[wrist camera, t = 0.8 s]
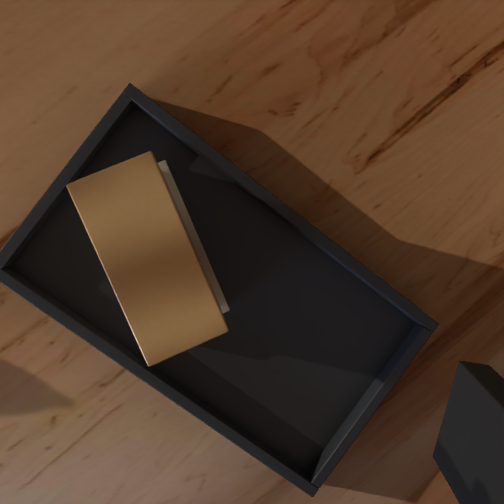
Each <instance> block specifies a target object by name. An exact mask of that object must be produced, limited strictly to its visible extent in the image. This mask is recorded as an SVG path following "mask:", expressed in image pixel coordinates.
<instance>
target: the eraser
mask: <svg viewBox="0 0 504 504" xmlns="http://www.w3.org/2000/svg"><path fill="white" fill-rule="evenodd" d="M67 189H68V191H69V193H70V195H71V198H72V200H73V202H74V204H75V206H76V209H77V211H78V213H79V215H80V217H81V220H82V222H83V224H84V226H85V228H86V231H87V233H88V235H89V237H90V239H91V242H92V244H93V246H94V248H95V251H96V253H97V255H98V257H99V259H100V262H101V264H102V266H103V268H104V270H105V273H106V275H107V277H108V279H109V281H110V284H111V286H112V288H113V290H114V292H115V295H116V297H117V299H118V301H119V303H120V306H121V308H122V310H123V312H124V315H125V317H126V319H127V321H128V323H129V326H130V328H131V330H132V332H133V334H134V337H135V339H136V341H137V343H138V345H139V348H140V350H141V352H142V354H143V356H144V359H145V361H146V363H147V365H148V366H152V365H154V364H157V363H159V362H161V361H163V360H166V359H168V358H170V357H172V356H175V355H177V354H179V353H181V352H184V351H186V350H188V349H190V348H193V347H195V346H197V345H199V344H202V343H204V342H206V341H208V340H211V339H213V338H215V337H217V336H219V335H222V334H224V333H226V332H228V331H229V329H228V326H227V323H226V321H225V318H224V315H223V313H225V312H227V311H229V310H230V309H229V307H228V304H227V302H226V300H225V297H224V295H223V293H222V290H221V288H220V286H219V283H218V281H217V279H216V277H215V274H214V272H213V270H212V267H211V265H210V263H209V260H208V258H207V256H206V253H205V251H204V249H203V246H202V244H201V242H200V239H199V237H198V235H197V232H196V230H195V228H194V225H193V223H192V221H191V218H190V216H189V214H188V211H187V209H186V207H185V204H184V202H183V200H182V198H181V195H180V193H179V191H178V188H177V186H176V184H175V181H174V179H173V177H172V174H171V172H170V170H169V167H168V165H167V163H166V161H165V160H164V161H161V162H159V163H157V161H156V159H155V157H154V155H153V153H152V152H151V151H149V152H146V153H144V154H141V155H139V156H136V157H134V158H131V159H129V160H126V161H124V162H121V163H119V164H116V165H114V166H111V167H109V168H106V169H104V170H101V171H99V172H96V173H94V174H91V175H89V176H86V177H84V178H81V179H79V180H76V181H74V182H71V183H69V184H67Z"/></svg>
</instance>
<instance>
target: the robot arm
mask: <svg viewBox="0 0 504 504" xmlns="http://www.w3.org/2000/svg"><path fill="white" fill-rule="evenodd" d="M433 458H434V460H435V461H436V463H437V465H438V467H439V468H440V470H441V472H442V474H443V475H444V477H445V479H446V481H447V482H448V484H449V486H450V487H451V489H452V491H453V493H454V494H455V496H456V498H457V500H458V501H459V503H460V504H504V379H503V378H502V377H501V376H500V375H499V374H498V373H497V372H496V371H495V370H494V369H493V368H492V367H491V366H489V365H485V364H478V363H472V362H465V361H459V364H458V368H457V371H456V375H455V378H454V382H453V386H452V389H451V393H450V396H449V400H448V403H447V407H446V411H445V414H444V418H443V421H442V425H441V428H440V432H439V436H438V439H437V443H436V446H435V450H434V453H433Z"/></svg>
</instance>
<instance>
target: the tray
mask: <svg viewBox="0 0 504 504" xmlns="http://www.w3.org/2000/svg"><path fill="white" fill-rule="evenodd" d="M149 151H151V152H152V153H153V155H154V157H155V159H156V161H157V163H159V162H161V161H164V160H165V161H166V163H167V165H168V167H169V170H170V172H171V174H172V177H173V179H174V181H175V184H176V186H177V188H178V191H179V193H180V195H181V198H182V200H183V202H184V204H185V207H186V209H187V211H188V214H189V216H190V218H191V221H192V223H193V225H194V228H195V230H196V232H197V235H198V237H199V239H200V242H201V244H202V246H203V249H204V251H205V253H206V256H207V258H208V260H209V263H210V265H211V267H212V270H213V272H214V274H215V277H216V279H217V281H218V283H219V286H220V288H221V290H222V293H223V295H224V297H225V300H226V302H227V304H228V307H229V309H230V310H229V311H227V312H225V313H223V315H224V318H225V321H226V323H227V326H228V329H229V331H228V332H226V333H224V334H222V335H219V336H217V337H215V338H213V339H211V340H208V341H206V342H204V343H202V344H199V345H197V346H195V347H193V348H190V349H188V350H186V351H184V352H181V353H179V354H177V355H175V356H172V357H170V358H168V359H166V360H163V361H161V362H159V363H157V364H154V365H152V366H148V365H147V363H146V361H145V359H144V356H143V354H142V352H141V350H140V348H139V345H138V343H137V341H136V339H135V337H134V334H133V332H132V330H131V328H130V326H129V323H128V321H127V319H126V317H125V315H124V312H123V310H122V308H121V306H120V303H119V301H118V299H117V297H116V295H115V292H114V290H113V288H112V286H111V284H110V281H109V279H108V277H107V275H106V273H105V270H104V268H103V266H102V264H101V262H100V259H99V257H98V255H97V253H96V251H95V248H94V246H93V244H92V242H91V239H90V237H89V235H88V233H87V231H86V228H85V226H84V224H83V222H82V220H81V217H80V215H79V213H78V211H77V209H76V206H75V204H74V202H73V200H72V198H71V195H70V193H69V191H68V189H67V184H69V183H71V182H74V181H76V180H79V179H81V178H84V177H86V176H89V175H91V174H94V173H96V172H99V171H101V170H104V169H106V168H109V167H111V166H114V165H116V164H119V163H121V162H124V161H126V160H129V159H131V158H134V157H136V156H139V155H141V154H144V153H146V152H149ZM0 283H2V284H3V285H5V286H6V287H7V288H9V289H10V290H12V291H13V292H15V293H16V294H18V295H19V296H21V297H22V298H23V299H25V300H26V301H28V302H29V303H31V304H32V305H34V306H35V307H37V308H38V309H39V310H41V311H42V312H44V313H45V314H47V315H48V316H50V317H51V318H53V319H54V320H55V321H57V322H58V323H60V324H61V325H63V326H64V327H66V328H67V329H69V330H70V331H71V332H73V333H74V334H76V335H77V336H79V337H80V338H82V339H83V340H85V341H86V342H87V343H89V344H90V345H92V346H93V347H95V348H96V349H98V350H99V351H100V352H102V353H103V354H105V355H106V356H108V357H109V358H111V359H112V360H114V361H115V362H116V363H118V364H119V365H121V366H122V367H124V368H125V369H127V370H128V371H130V372H131V373H132V374H134V375H135V376H137V377H138V378H140V379H141V380H143V381H144V382H146V383H147V384H148V385H150V386H151V387H153V388H154V389H156V390H157V391H159V392H160V393H162V394H163V395H164V396H166V397H167V398H169V399H170V400H172V401H173V402H175V403H176V404H178V405H179V406H180V407H182V408H183V409H185V410H186V411H188V412H189V413H191V414H192V415H194V416H195V417H196V418H198V419H199V420H201V421H202V422H204V423H205V424H207V425H208V426H210V427H211V428H212V429H214V430H215V431H217V432H218V433H220V434H221V435H223V436H224V437H226V438H227V439H228V440H230V441H231V442H233V443H234V444H236V445H237V446H239V447H240V448H242V449H243V450H244V451H246V452H247V453H249V454H250V455H252V456H253V457H255V458H256V459H258V460H259V461H260V462H262V463H263V464H265V465H266V466H268V467H269V468H271V469H272V470H274V471H275V472H276V473H278V474H279V475H281V476H282V477H284V478H285V479H287V480H288V481H290V482H291V483H292V484H294V485H295V486H297V487H298V488H300V489H301V490H303V491H304V492H306V493H307V494H308V495H310V496H311V497H314V495H315V494H316V492H317V491H318V490H319V488H320V487H321V485H322V484H323V483H324V481H325V480H326V479H327V477H328V476H329V474H330V473H331V472H332V470H333V469H334V468H335V466H336V465H337V463H338V462H339V461H340V459H341V458H342V457H343V455H344V454H345V452H346V451H347V450H348V448H349V447H350V446H351V444H352V443H353V441H354V440H355V439H356V437H357V436H358V435H359V433H360V432H361V430H362V429H363V428H364V426H365V425H366V424H367V422H368V421H369V419H370V418H371V417H372V415H373V414H374V413H375V411H376V410H377V408H378V407H379V406H380V404H381V403H382V401H383V400H384V399H385V397H386V396H387V395H388V393H389V392H390V390H391V389H392V388H393V386H394V385H395V384H396V382H397V381H398V379H399V378H400V377H401V375H402V374H403V373H404V371H405V370H406V368H407V367H408V366H409V364H410V363H411V362H412V360H413V359H414V357H415V356H416V355H417V353H418V352H419V351H420V349H421V348H422V346H423V345H424V344H425V342H426V341H427V340H428V338H429V337H430V335H431V334H432V332H434V330H435V329H436V328H437V326H438V325H439V324H438V323H437V322H436V321H434V320H433V319H432V318H431V317H429V316H428V315H427V314H426V313H424V312H423V311H422V310H420V309H419V308H418V307H417V306H415V305H414V304H413V303H411V302H410V301H409V300H408V299H406V298H405V297H404V296H402V295H401V294H400V293H399V292H397V291H396V290H395V289H393V288H392V287H391V286H390V285H388V284H387V283H386V282H384V281H383V280H382V279H381V278H379V277H378V276H377V275H376V274H374V273H373V272H372V271H370V270H369V269H368V268H367V267H365V266H364V265H363V264H361V263H360V262H359V261H358V260H356V259H355V258H354V257H352V256H351V255H350V254H349V253H347V252H346V251H345V250H343V249H342V248H341V247H340V246H338V245H337V244H336V243H334V242H333V241H332V240H331V239H329V238H328V237H327V236H326V235H324V234H323V233H322V232H320V231H319V230H318V229H317V228H315V227H314V226H313V225H311V224H310V223H309V222H308V221H306V220H305V219H304V218H302V217H301V216H300V215H299V214H297V213H296V212H295V211H293V210H292V209H291V208H290V207H288V206H287V205H286V204H284V203H283V202H282V201H281V200H279V199H278V198H277V197H276V196H274V195H273V194H272V193H270V192H269V191H268V190H267V189H265V188H264V187H263V186H261V185H260V184H259V183H258V182H256V181H255V180H254V179H252V178H251V177H250V176H249V175H247V174H246V173H245V172H243V171H242V170H241V169H240V168H238V167H237V166H236V165H234V164H233V163H232V162H231V161H229V160H228V159H227V158H226V157H224V156H223V155H222V154H220V153H219V152H218V151H217V150H215V149H214V148H213V147H211V146H210V145H209V144H208V143H206V142H205V141H204V140H202V139H201V138H200V137H199V136H197V135H196V134H195V133H193V132H192V131H191V130H190V129H188V128H187V127H186V126H184V125H183V124H182V123H181V122H179V121H178V120H177V119H176V118H174V117H173V116H172V115H170V114H169V113H168V112H167V111H165V110H164V109H163V108H161V107H160V106H159V105H158V104H156V103H155V102H154V101H152V100H151V99H150V98H149V97H147V96H146V95H145V94H143V93H142V92H141V91H140V90H138V89H137V88H136V87H134V86H133V85H132V84H131V83H129V84H128V86H127V87H126V88H125V89H124V91H123V93H121V95H120V96H119V97H118V99H117V100H116V101H115V102H114V104H113V105H112V106H111V108H110V109H109V110H108V111H107V113H106V114H105V115H104V117H103V118H102V119H101V121H100V122H99V123H98V124H97V126H96V127H95V128H94V130H93V131H92V132H91V134H90V135H89V136H88V137H87V139H86V140H85V141H84V143H83V144H82V145H81V146H80V148H79V149H78V150H77V152H76V153H75V154H74V156H73V157H72V158H71V159H70V161H69V162H68V163H67V165H66V166H65V167H64V169H63V170H62V171H61V172H60V174H59V175H58V176H57V178H56V179H55V180H54V181H53V183H52V184H51V185H50V187H49V188H48V189H47V191H46V192H45V193H44V194H43V196H42V197H41V198H40V200H39V201H38V202H37V204H36V205H35V206H34V207H33V209H32V210H31V211H30V213H29V214H28V215H27V216H26V218H25V219H24V220H23V222H22V223H21V224H20V226H19V227H18V228H17V229H16V231H15V232H14V233H13V235H12V236H11V237H10V239H9V240H8V241H7V242H6V244H5V245H4V246H3V248H2V249H1V250H0Z"/></svg>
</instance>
